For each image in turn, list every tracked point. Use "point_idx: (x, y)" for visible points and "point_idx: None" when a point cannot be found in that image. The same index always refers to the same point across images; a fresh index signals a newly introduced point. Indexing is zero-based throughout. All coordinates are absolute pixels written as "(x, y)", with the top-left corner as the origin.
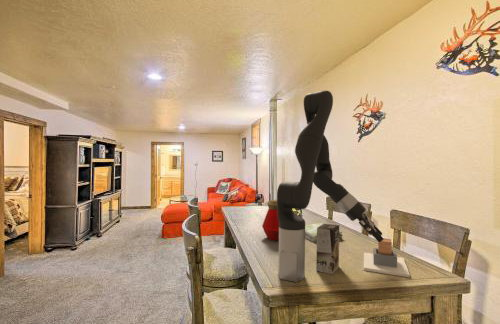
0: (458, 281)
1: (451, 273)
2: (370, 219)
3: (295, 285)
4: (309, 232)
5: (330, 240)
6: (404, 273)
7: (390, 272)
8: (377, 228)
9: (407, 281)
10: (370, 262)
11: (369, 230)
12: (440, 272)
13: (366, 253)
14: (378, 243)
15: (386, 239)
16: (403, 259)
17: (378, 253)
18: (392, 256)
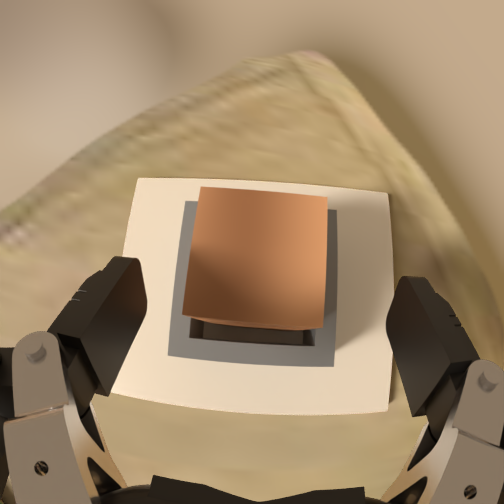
0: (327, 62)
1: (255, 57)
2: (24, 488)
3: None
4: None
5: None
6: (387, 213)
7: (390, 277)
8: (96, 314)
9: (427, 218)
10: (290, 377)
11: (412, 466)
12: (259, 80)
13: (120, 380)
14: (204, 319)
15: (240, 234)
16: (165, 180)
17: (271, 328)
18: (335, 238)
